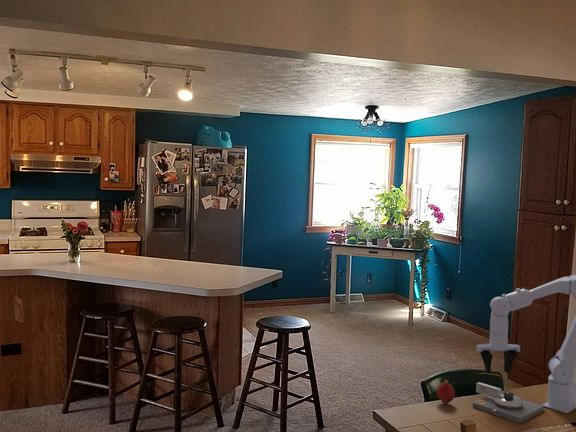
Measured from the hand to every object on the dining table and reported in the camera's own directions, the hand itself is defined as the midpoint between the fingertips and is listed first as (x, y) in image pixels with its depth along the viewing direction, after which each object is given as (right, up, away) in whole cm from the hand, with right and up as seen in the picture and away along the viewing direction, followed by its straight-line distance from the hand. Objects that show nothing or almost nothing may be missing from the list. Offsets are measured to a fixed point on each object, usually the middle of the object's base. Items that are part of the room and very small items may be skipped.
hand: (497, 372), depth 185 cm
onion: (-19, -9, -5) cm, 22 cm away
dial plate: (+1, -10, -8) cm, 12 cm away
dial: (-2, -8, -5) cm, 10 cm away
